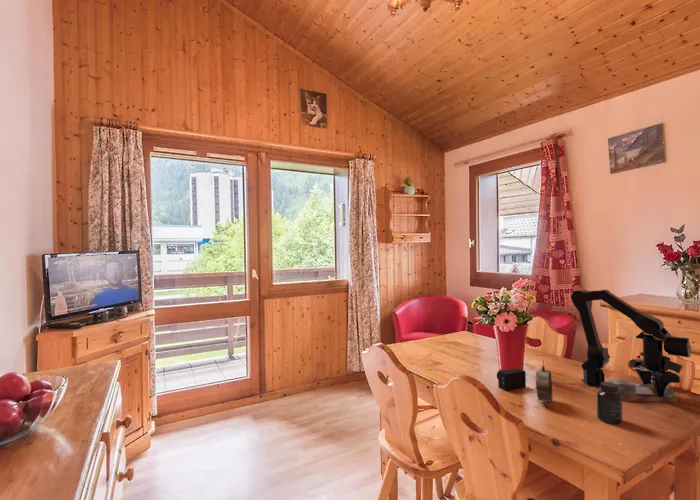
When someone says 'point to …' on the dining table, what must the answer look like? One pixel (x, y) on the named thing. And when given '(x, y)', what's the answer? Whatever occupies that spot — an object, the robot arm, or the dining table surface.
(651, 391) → the grey rectangular bar
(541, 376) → the alarm clock
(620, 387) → the tube stand
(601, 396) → the supplement bottle
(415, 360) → the dining table surface
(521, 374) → the digital camera
